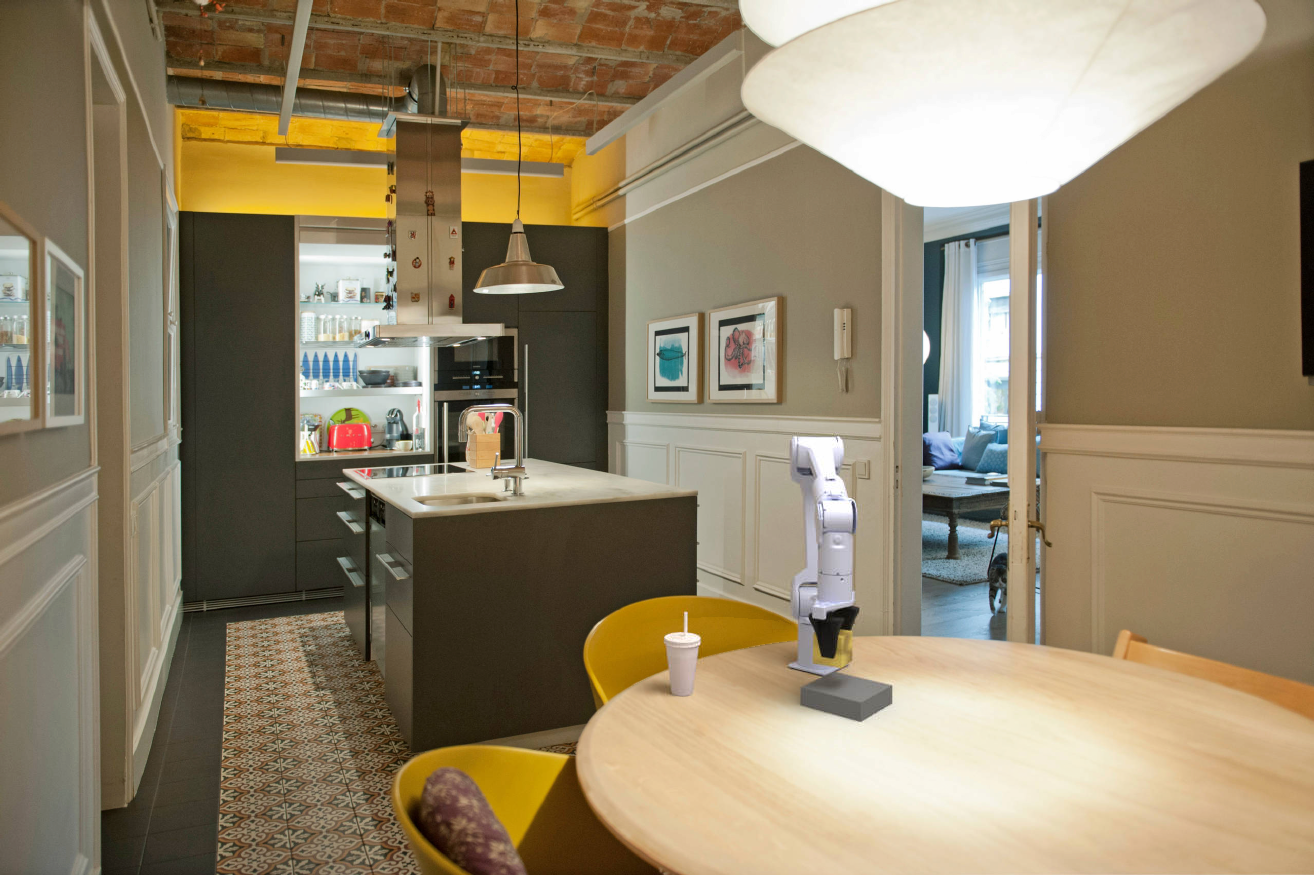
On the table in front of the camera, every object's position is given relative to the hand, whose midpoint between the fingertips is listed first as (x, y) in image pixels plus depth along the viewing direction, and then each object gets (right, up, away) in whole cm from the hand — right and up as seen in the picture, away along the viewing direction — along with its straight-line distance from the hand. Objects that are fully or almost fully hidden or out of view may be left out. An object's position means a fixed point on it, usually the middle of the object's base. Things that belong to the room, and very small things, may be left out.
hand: (834, 653), depth 139 cm
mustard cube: (0, -2, 0) cm, 2 cm away
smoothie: (-25, -8, +5) cm, 27 cm away
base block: (+2, -9, 0) cm, 9 cm away
